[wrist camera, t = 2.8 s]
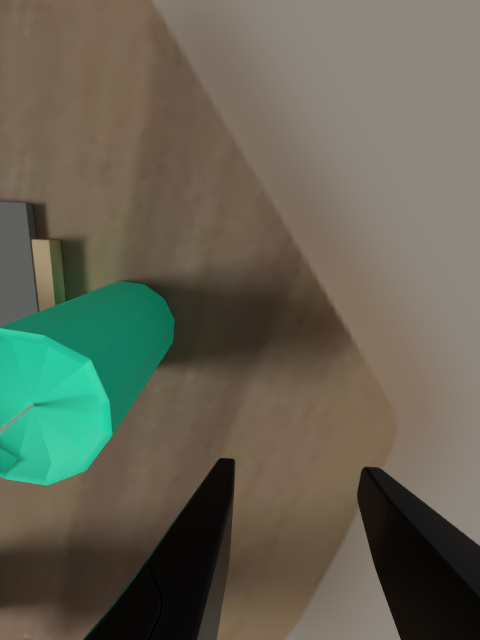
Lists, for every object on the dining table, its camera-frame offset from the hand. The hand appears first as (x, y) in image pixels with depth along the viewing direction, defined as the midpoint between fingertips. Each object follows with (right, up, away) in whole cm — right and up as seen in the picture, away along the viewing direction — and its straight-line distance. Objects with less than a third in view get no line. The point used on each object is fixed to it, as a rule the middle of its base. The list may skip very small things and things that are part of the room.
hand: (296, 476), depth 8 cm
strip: (-13, +4, +12) cm, 19 cm away
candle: (-9, +4, +13) cm, 16 cm away
